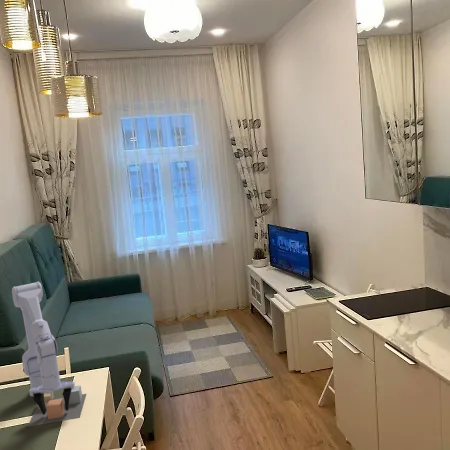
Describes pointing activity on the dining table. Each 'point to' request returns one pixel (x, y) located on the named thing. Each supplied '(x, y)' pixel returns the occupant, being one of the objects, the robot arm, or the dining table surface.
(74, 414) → the mat
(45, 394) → the birch block
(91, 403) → the dining table surface
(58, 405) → the terracotta block
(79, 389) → the slate block
